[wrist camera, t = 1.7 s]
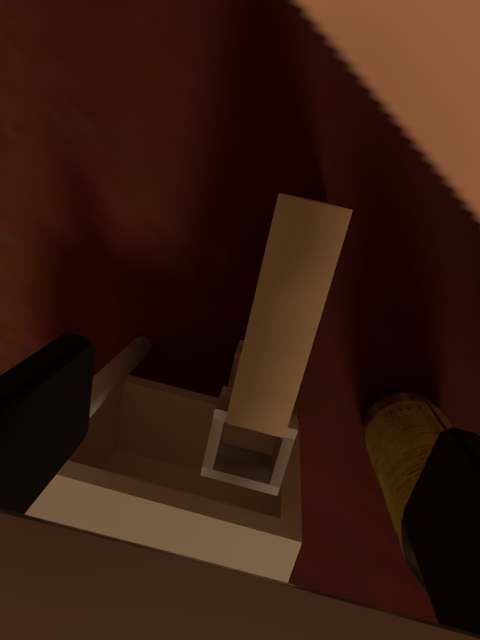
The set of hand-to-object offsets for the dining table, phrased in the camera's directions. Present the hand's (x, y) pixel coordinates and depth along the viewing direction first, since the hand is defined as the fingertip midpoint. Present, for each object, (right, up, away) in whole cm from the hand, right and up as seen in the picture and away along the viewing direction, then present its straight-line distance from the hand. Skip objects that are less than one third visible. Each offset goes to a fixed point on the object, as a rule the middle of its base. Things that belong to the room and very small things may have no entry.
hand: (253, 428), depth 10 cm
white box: (-4, -5, +23) cm, 24 cm away
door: (+3, +4, +19) cm, 20 cm away
